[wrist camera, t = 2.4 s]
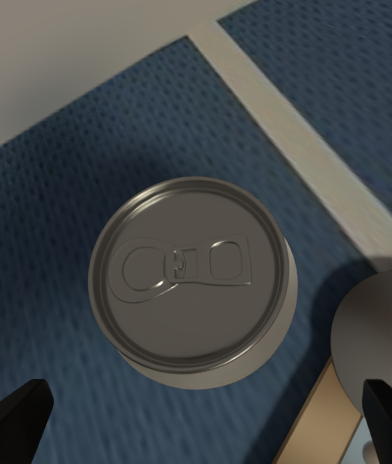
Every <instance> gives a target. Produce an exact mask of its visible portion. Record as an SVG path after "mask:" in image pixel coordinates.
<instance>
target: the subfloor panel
mask: <svg viewBox="0 0 392 464" xmlns="http://www.w3.org/2000/svg"><path fill="white" fill-rule="evenodd" d="M331 353H332V354H331V355H330V357H329V359H328V361H327V363H326V365H325V366H324V368H323V370H322V372H321V374H320V375H319V377H318V379H317V381H316V383H315V385H314V386H313V388H312V390H311V392H310V394H309V396H308V397H307V399H306V401H305V403H304V405H303V407H302V408H301V410H300V412H299V414H298V416H297V418H296V419H295V421H294V423H293V425H292V427H291V429H290V430H289V432H288V434H287V436H286V438H285V440H284V441H283V443H282V445H281V447H280V449H279V451H278V452H277V454H276V456H275V458H274V460H273V462H272V463H271V464H379V461H378V458H377V454H376V451H375V448H374V445H373V442H372V438H371V435H370V432H369V429H368V426H367V422H366V419H365V416H364V413H363V409H362V393H363V383H364V380H365V379H381V380H383V381H385V382H386V383H387V384H388V385H390V386H391V387H392V270H391V271H386V272H382V273H378V274H376V275H373V276H371V277H369V278H367V279H365V280H363V281H362V282H360V283H359V284H357V285H356V286H355V287H354V288H352V289H351V290H350V291H349V293H348V294H347V295H346V296H345V297H344V299H343V300H342V301H341V303H340V304H339V306H338V309H337V311H336V313H335V316H334V319H333V323H332V328H331Z"/></svg>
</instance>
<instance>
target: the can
mask: <svg viewBox="0 0 392 464" xmlns="http://www.w3.org/2000/svg"><path fill="white" fill-rule="evenodd" d="M88 292H89V299H90V304H91V308H92V311H93V314H94V317H95V319H96V321H97V323H98V325H99V327H100V329H101V331H102V332H103V334H104V335H105V336H106V338H107V339H108V340H109V342H110V343H111V344H112V345H113V346H114V347H115V348H116V349H117V351H118V352H119V353H120V354H121V356H122V357H123V358H124V359H125V360H126V361H127V362H128V363H129V364H130V365H131V366H132V367H134V368H135V369H136V370H137V371H139V372H140V373H142V374H143V375H145V376H147V377H149V378H150V379H152V380H155V381H157V382H159V383H162V384H165V385H168V386H172V387H176V388H182V389H209V388H216V387H220V386H224V385H228V384H231V383H233V382H236V381H238V380H240V379H243V378H245V377H246V376H248V375H250V374H251V373H253V372H254V371H256V370H257V369H258V368H260V367H261V366H262V365H263V364H264V363H265V362H266V361H267V360H268V359H269V358H270V357H271V356H272V355H273V353H274V352H275V351H276V349H277V348H278V347H279V345H280V344H281V342H282V340H283V339H284V337H285V335H286V333H287V331H288V329H289V326H290V324H291V321H292V318H293V315H294V311H295V307H296V301H297V272H296V266H295V262H294V258H293V255H292V252H291V250H290V247H289V245H288V243H287V241H286V239H285V237H284V236H283V233H282V231H281V229H280V227H279V225H278V223H277V221H276V220H275V218H274V217H273V215H272V214H271V213H270V211H269V210H268V209H267V208H266V207H265V206H264V204H263V203H262V202H260V201H259V200H258V199H257V198H256V197H255V196H253V195H252V194H251V193H249V192H248V191H246V190H244V189H242V188H241V187H239V186H237V185H234V184H232V183H229V182H226V181H223V180H220V179H215V178H209V177H181V178H175V179H171V180H167V181H164V182H161V183H158V184H155V185H153V186H151V187H149V188H147V189H145V190H143V191H141V192H140V193H138V194H136V195H135V196H133V197H132V198H131V199H129V200H128V201H127V202H126V203H125V204H123V205H122V206H121V207H120V208H119V209H118V210H117V211H116V212H115V214H114V215H113V216H112V217H111V218H110V220H109V221H108V222H107V224H106V225H105V227H104V228H103V230H102V232H101V233H100V235H99V237H98V239H97V242H96V244H95V247H94V249H93V252H92V256H91V260H90V265H89V272H88Z"/></svg>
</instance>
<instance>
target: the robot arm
mask: <svg viewBox="0 0 392 464" xmlns="http://www.w3.org/2000/svg"><path fill="white" fill-rule="evenodd" d="M53 405H54V398H53V395H52V393H51V390H50V388H49V385H48V383H47V381H46V380H45V379H32V380H30V381H28V382H27V383H25V384H24V385H23V386H21V387H20V388H18V389H17V390H16V391H14V392H13V393H11V394H10V395H9V396H7V397H6V398H4V399H3V400H1V401H0V464H31V463H32V460H33V458H34V455H35V453H36V450H37V448H38V445H39V442H40V440H41V437H42V435H43V432H44V429H45V427H46V424H47V422H48V419H49V416H50V414H51V411H52V409H53ZM362 409H363V413H364V416H365V419H366V422H367V426H368V429H369V432H370V435H371V438H372V442H373V445H374V448H375V451H376V454H377V458H378V461H379V464H392V387H391V386H390V385H388V384H387V383H386V382H385V381H383V380H381V379H365V380H364V383H363V393H362Z"/></svg>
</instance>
